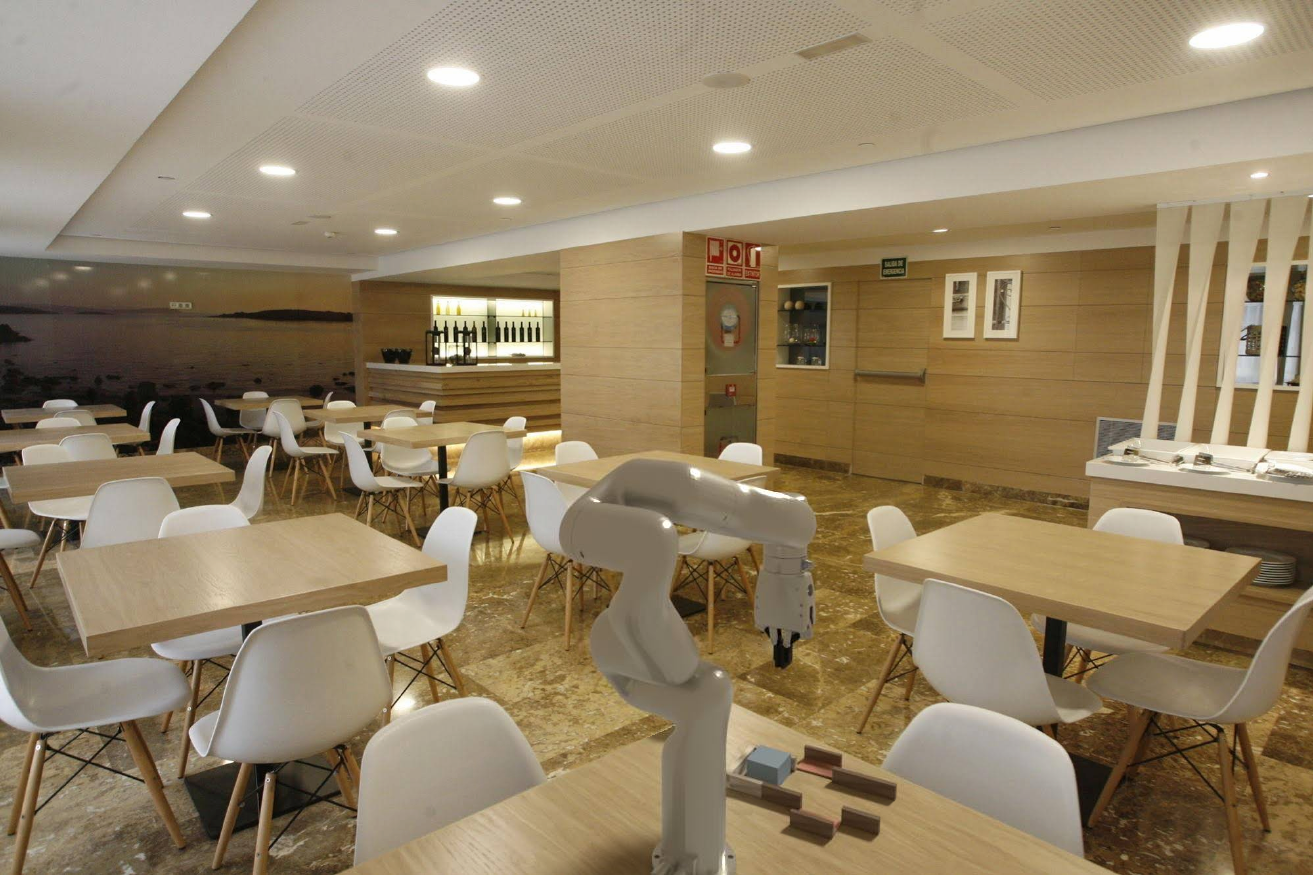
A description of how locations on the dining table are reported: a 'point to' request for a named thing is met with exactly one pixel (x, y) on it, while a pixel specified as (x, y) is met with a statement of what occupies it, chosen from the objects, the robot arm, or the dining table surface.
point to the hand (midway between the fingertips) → (782, 665)
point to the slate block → (769, 765)
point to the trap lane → (813, 763)
